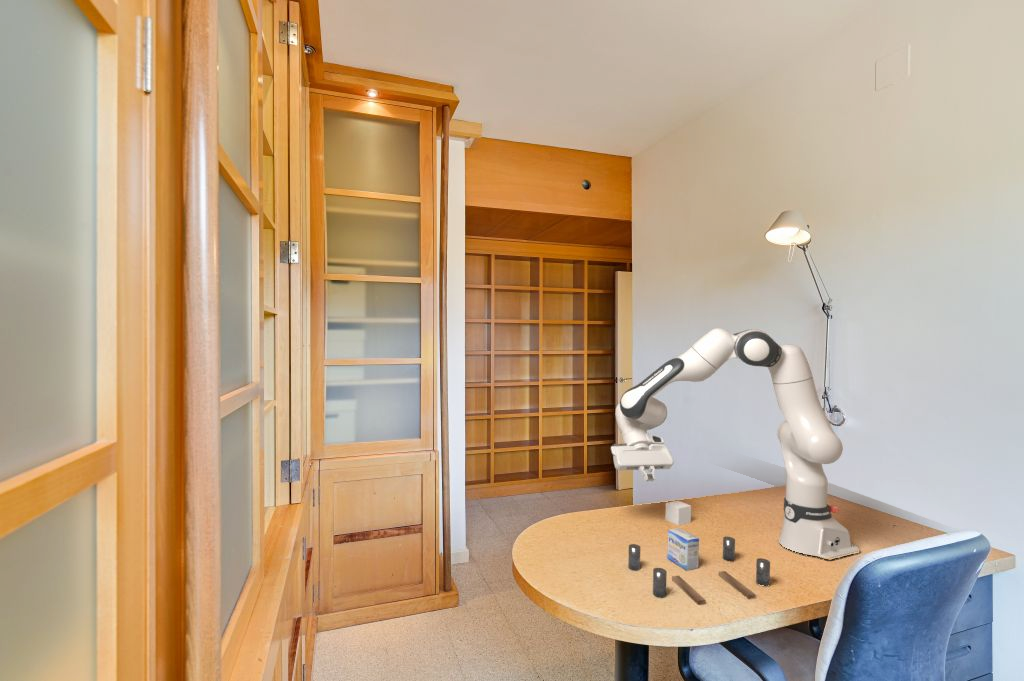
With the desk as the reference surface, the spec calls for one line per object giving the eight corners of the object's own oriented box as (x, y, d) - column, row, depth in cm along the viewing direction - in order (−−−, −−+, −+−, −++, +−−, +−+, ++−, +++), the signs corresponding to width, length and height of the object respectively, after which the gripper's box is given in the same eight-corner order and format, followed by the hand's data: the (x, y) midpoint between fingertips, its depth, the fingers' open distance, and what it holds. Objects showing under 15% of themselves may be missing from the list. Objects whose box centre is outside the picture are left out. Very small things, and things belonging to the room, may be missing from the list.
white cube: (677, 516, 175) (678, 500, 175) (690, 522, 170) (691, 505, 169) (665, 519, 172) (665, 502, 172) (678, 525, 167) (678, 508, 167)
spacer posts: (729, 556, 144) (730, 536, 144) (772, 586, 127) (773, 563, 127) (626, 565, 137) (626, 544, 137) (656, 598, 120) (657, 574, 120)
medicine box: (666, 559, 142) (667, 529, 142) (678, 556, 144) (679, 527, 143) (686, 571, 135) (687, 540, 134) (698, 568, 136) (699, 537, 136)
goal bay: (724, 574, 133) (725, 571, 133) (755, 598, 121) (755, 594, 121) (671, 579, 130) (672, 576, 130) (698, 604, 118) (698, 600, 118)
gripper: (612, 438, 163) (623, 476, 153) (667, 438, 167) (682, 474, 158) (606, 448, 167) (617, 486, 158) (660, 447, 171) (674, 484, 162)
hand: (650, 480), depth 158 cm, fingers closed
